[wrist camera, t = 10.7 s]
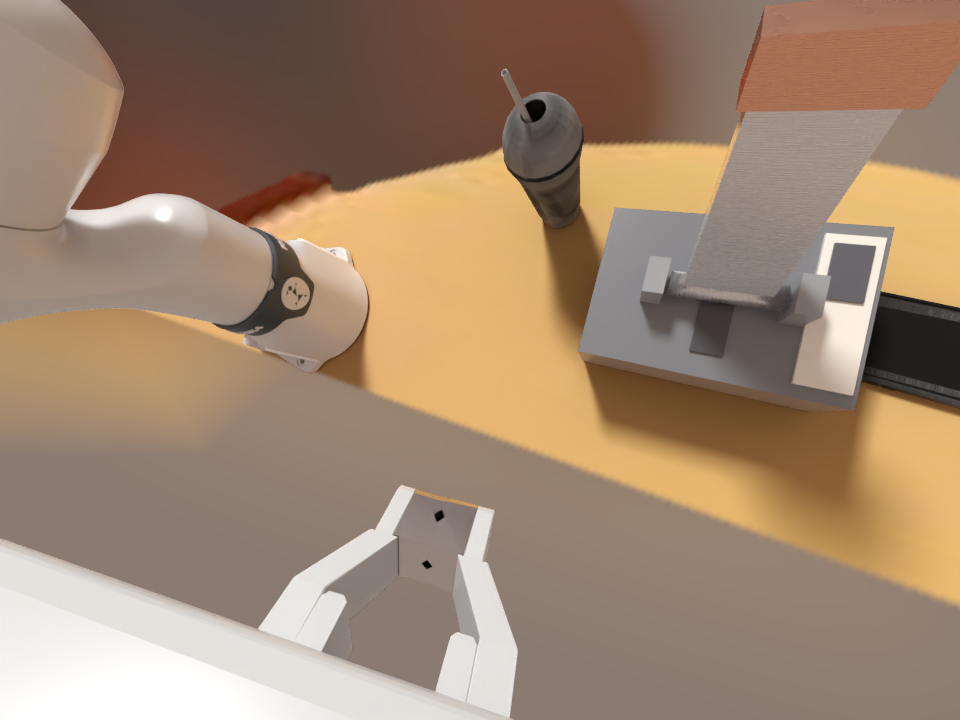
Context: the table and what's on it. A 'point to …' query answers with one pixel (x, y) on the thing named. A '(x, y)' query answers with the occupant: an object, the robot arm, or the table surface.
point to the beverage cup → (545, 153)
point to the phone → (915, 349)
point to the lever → (810, 133)
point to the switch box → (738, 315)
